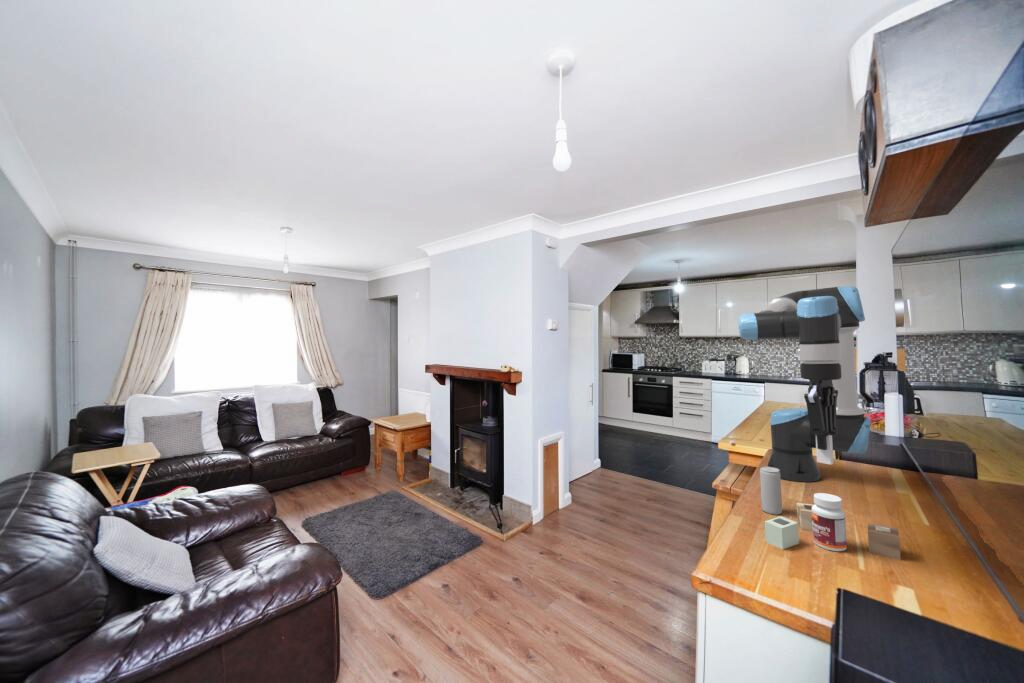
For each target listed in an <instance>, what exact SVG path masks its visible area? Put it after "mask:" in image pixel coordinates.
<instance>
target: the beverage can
mask: <svg viewBox="0 0 1024 683" xmlns="http://www.w3.org/2000/svg"><path fill="white" fill-rule="evenodd" d="M779 471H780V470H779V469H777V468H773V467H767V466H761V467H760V469H759V479H760V495H761V496H760V498H761V509H762V511H763V512H764V513H766V514H769V515H774V516H778V515H779V516H780V515H781V514H782V513H783V500H782V499H783V498H782V480H781V477H780V472H779Z"/></svg>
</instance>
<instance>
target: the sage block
mask: <svg viewBox="0 0 1024 683" xmlns="http://www.w3.org/2000/svg"><path fill="white" fill-rule="evenodd" d="M764 533H765V534H764V536H765V543H768V544H770V545H772V546H774V547H777V548H778V549H780V550H786V549H788V548H790V547H793V546H796V545H799V544H800V533H799V523H798V521H794V520H792V519H789V518H787V517H784V516H782V515H779V516H777V517H774V518H771V519H768V520H764Z"/></svg>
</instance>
